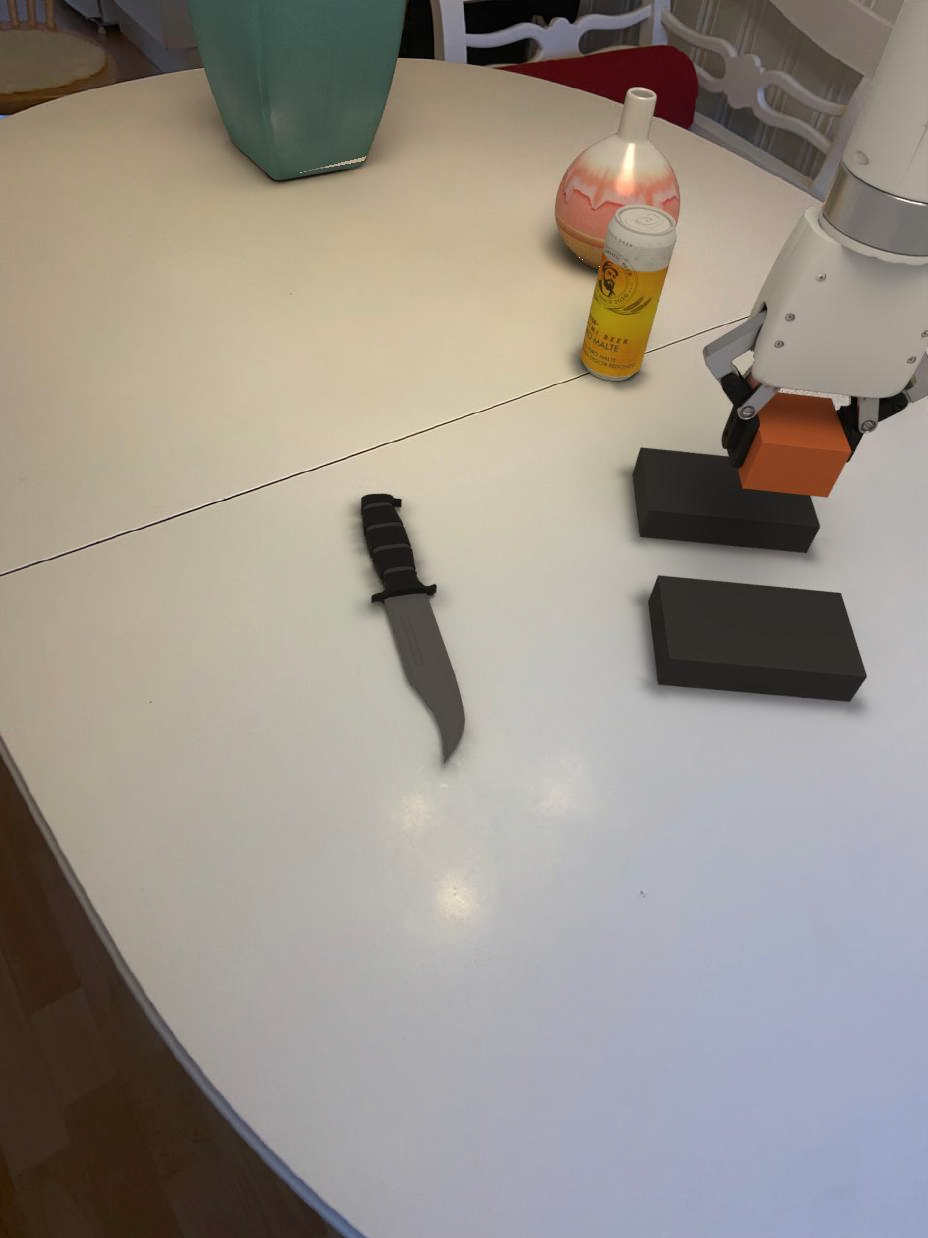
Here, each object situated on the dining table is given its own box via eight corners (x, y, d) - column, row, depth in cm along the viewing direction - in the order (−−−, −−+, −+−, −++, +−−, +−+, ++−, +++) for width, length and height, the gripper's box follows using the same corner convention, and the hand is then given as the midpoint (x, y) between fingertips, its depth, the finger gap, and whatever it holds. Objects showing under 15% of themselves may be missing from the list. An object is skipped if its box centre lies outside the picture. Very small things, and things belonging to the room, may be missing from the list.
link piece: (809, 443, 68) (831, 397, 65) (827, 497, 64) (852, 451, 61) (729, 434, 67) (747, 388, 64) (742, 488, 63) (762, 441, 60)
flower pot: (330, 113, 126) (327, -153, 105) (408, 173, 116) (422, -107, 95) (191, 135, 118) (157, -150, 96) (263, 202, 107) (242, -99, 86)
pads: (788, 489, 82) (800, 463, 80) (849, 702, 67) (867, 676, 64) (632, 473, 81) (640, 446, 79) (658, 684, 66) (669, 658, 64)
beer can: (566, 360, 92) (596, 211, 81) (608, 342, 95) (643, 196, 84) (610, 391, 89) (647, 241, 78) (652, 371, 92) (694, 224, 81)
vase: (522, 248, 106) (547, 80, 93) (602, 219, 113) (636, 59, 100) (609, 301, 100) (649, 130, 87) (688, 268, 107) (736, 104, 94)
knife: (497, 747, 59) (421, 762, 58) (494, 760, 60) (420, 775, 59) (404, 489, 75) (343, 496, 73) (403, 503, 76) (343, 511, 75)
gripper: (1020, 197, 55) (884, 441, 68) (733, 160, 54) (653, 415, 67) (1070, 259, 50) (913, 509, 63) (755, 219, 49) (664, 482, 62)
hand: (780, 459), depth 65 cm, fingers closed on link piece, 6 cm apart
